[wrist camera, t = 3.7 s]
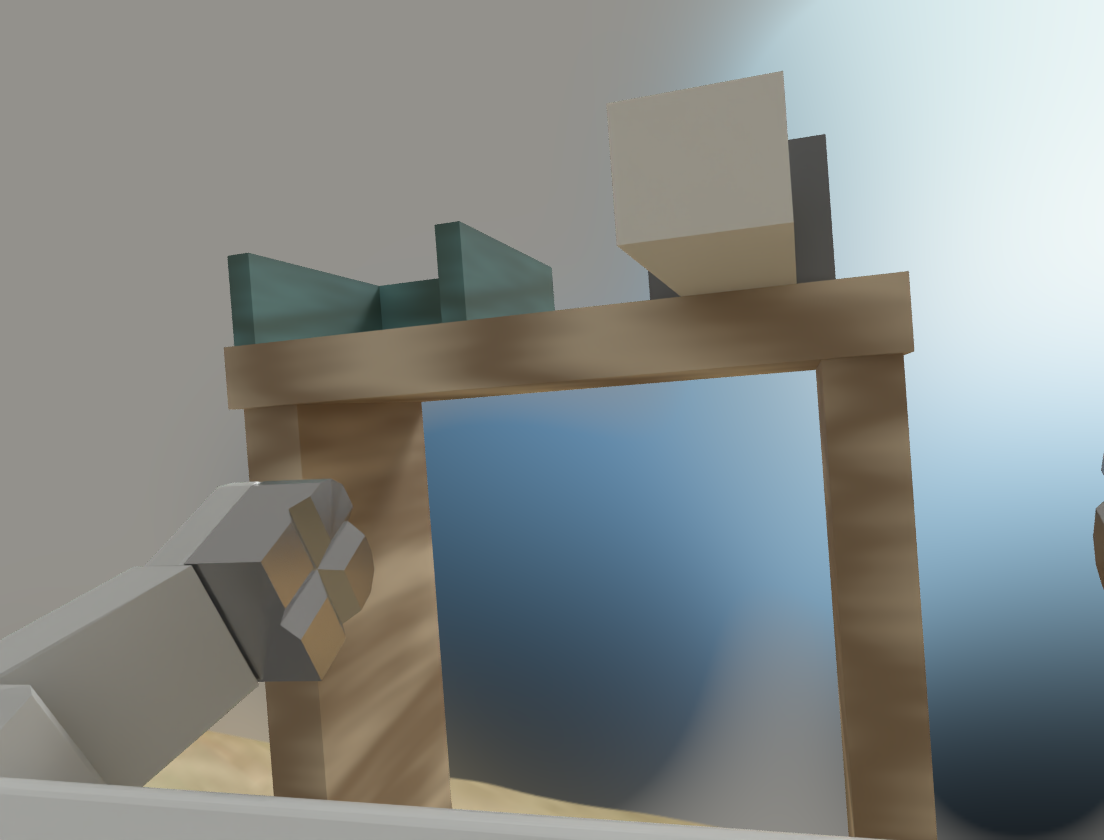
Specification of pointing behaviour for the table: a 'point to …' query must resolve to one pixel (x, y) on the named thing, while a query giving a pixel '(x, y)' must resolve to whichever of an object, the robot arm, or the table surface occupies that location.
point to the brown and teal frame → (553, 365)
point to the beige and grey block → (719, 189)
